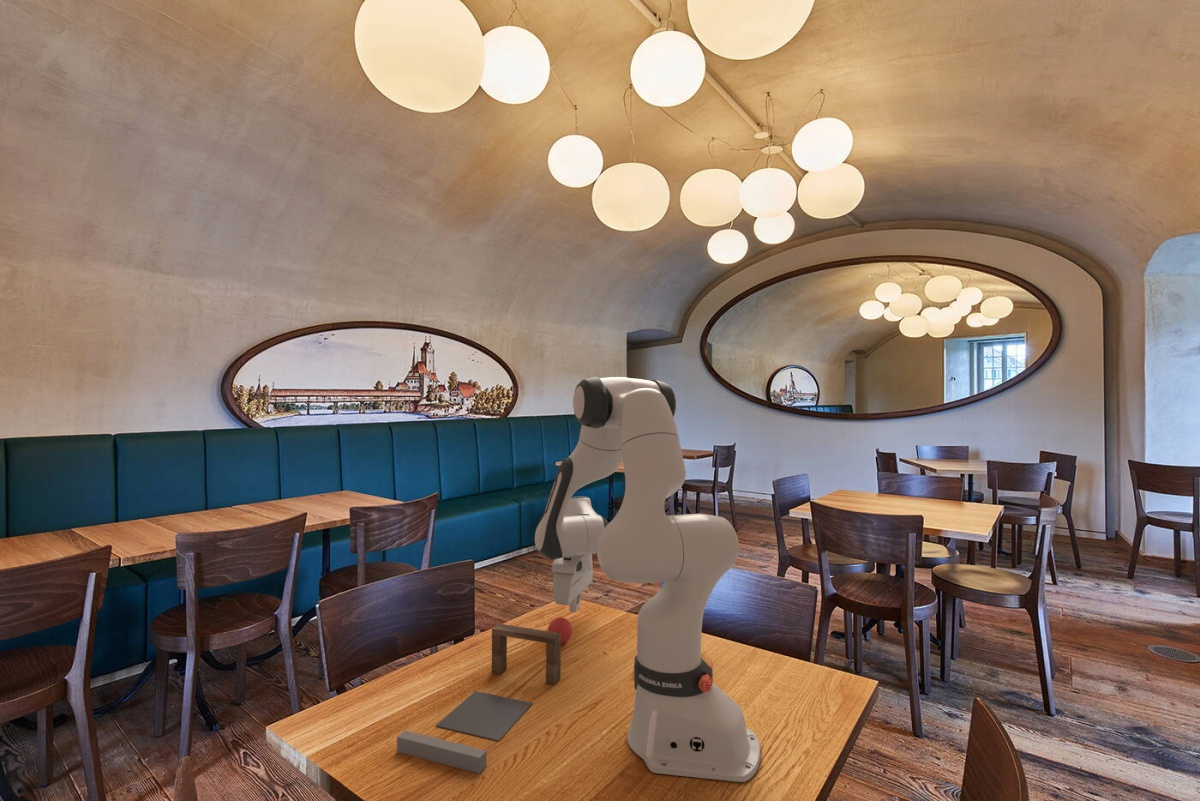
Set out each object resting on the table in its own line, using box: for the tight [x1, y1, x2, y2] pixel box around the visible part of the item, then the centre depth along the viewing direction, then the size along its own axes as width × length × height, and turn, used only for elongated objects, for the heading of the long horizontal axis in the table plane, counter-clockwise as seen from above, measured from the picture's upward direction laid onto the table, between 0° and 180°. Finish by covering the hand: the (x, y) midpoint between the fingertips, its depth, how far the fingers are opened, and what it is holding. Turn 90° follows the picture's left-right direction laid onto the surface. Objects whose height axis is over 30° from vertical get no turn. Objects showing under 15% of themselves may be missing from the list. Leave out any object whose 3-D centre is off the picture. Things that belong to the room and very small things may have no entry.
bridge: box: [491, 623, 562, 686], centre depth 120 cm, size 3×15×10 cm, turn 70°
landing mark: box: [435, 690, 534, 742], centre depth 105 cm, size 13×13×1 cm
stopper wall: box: [396, 730, 487, 774], centre depth 92 cm, size 16×2×2 cm, turn 70°
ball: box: [547, 617, 573, 645], centre depth 137 cm, size 6×6×6 cm
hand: (574, 610), depth 146 cm, fingers closed
